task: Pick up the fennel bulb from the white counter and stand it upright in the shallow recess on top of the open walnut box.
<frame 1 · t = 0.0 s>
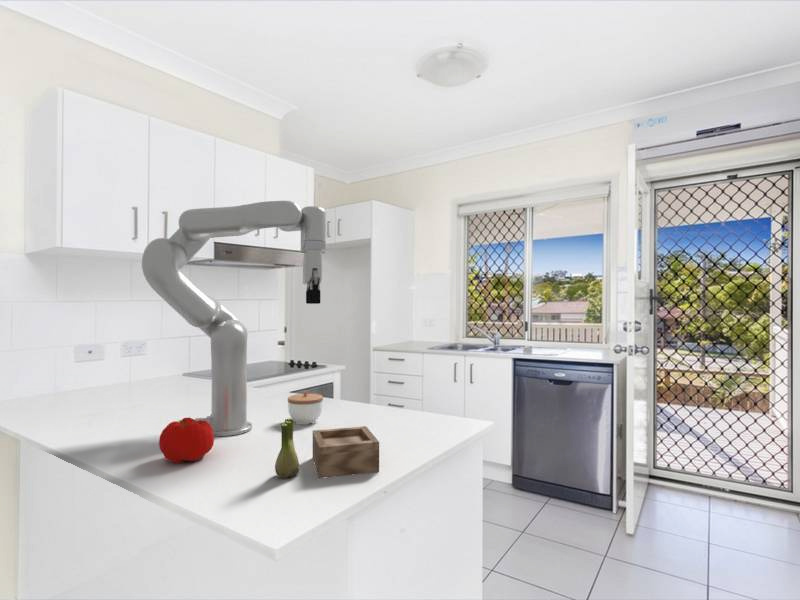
hand: (312, 303, 137), 37 cm above the counter, tool pointing down, fingers open, 9 cm apart
fennel bulb: (286, 476, 95), on the counter
lidded jar: (305, 422, 139), on the counter
open walnut box: (344, 464, 102), on the counter
tomato: (186, 459, 106), on the counter
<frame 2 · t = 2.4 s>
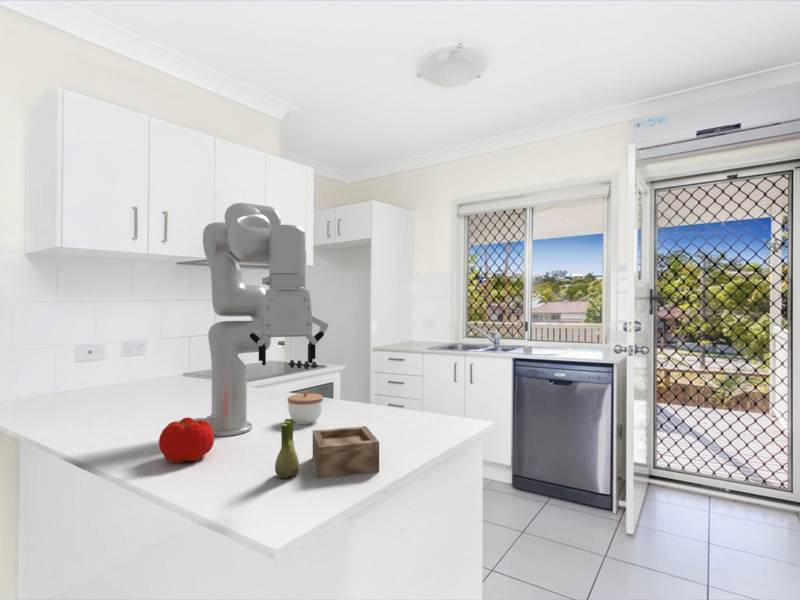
hand: (287, 363, 95), 24 cm above the counter, tool pointing down, fingers open, 9 cm apart
nothing on the counter moved.
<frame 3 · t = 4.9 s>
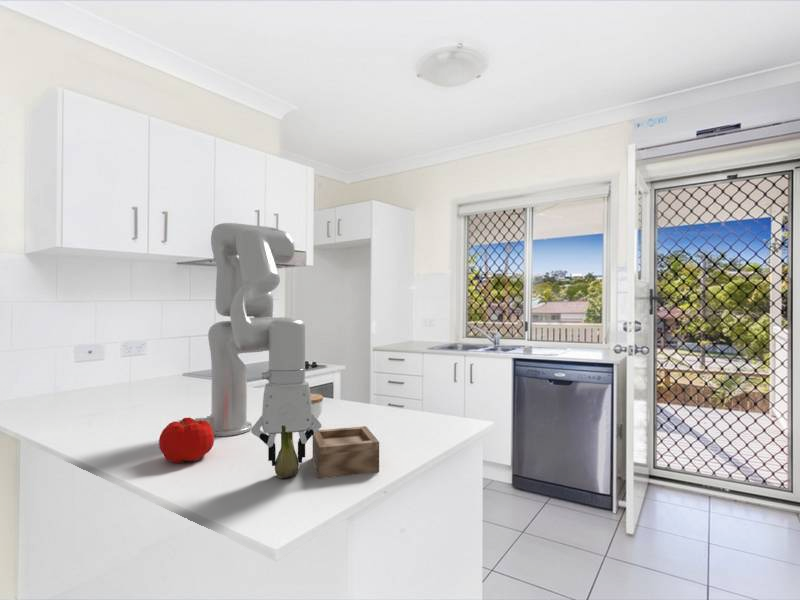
hand: (286, 461, 95), 3 cm above the counter, tool pointing down, fingers closed on fennel bulb, 4 cm apart
fennel bulb: (286, 476, 95), on the counter, touching gripper
everything else where it was.
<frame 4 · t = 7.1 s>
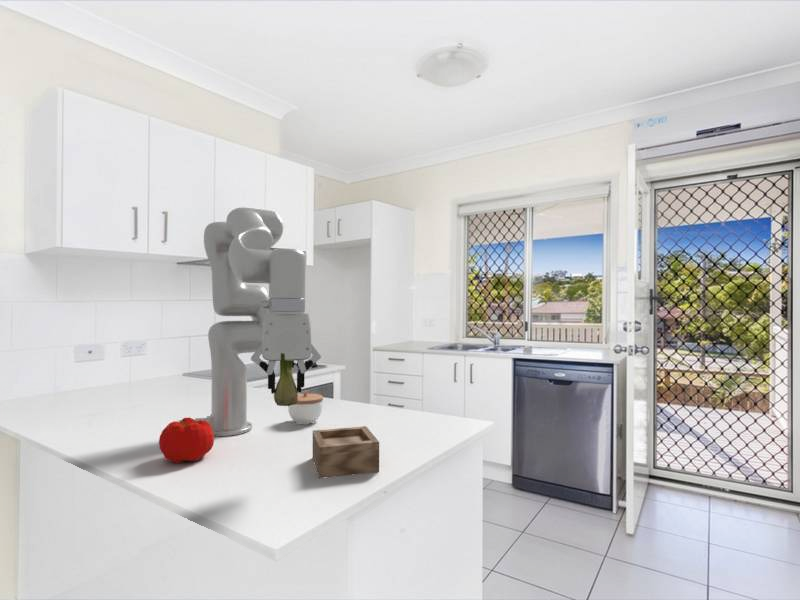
hand: (286, 390, 96), 18 cm above the counter, tool pointing down, fingers closed on fennel bulb, 4 cm apart
fennel bulb: (285, 406, 96), point 15 cm above the counter, touching gripper
everything else where it was.
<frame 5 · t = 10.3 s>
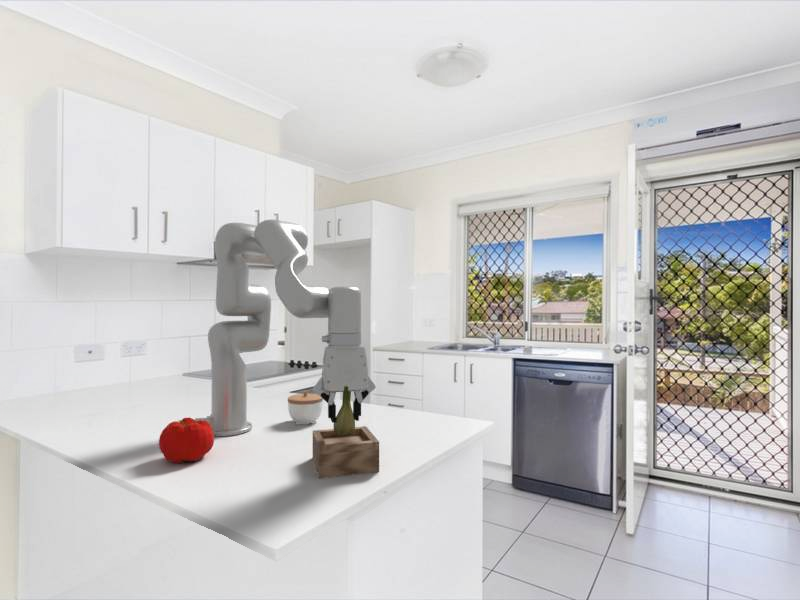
hand: (344, 419, 102), 10 cm above the counter, tool pointing down, fingers closed on fennel bulb, 4 cm apart
fennel bulb: (343, 435, 102), point 7 cm above the counter, touching gripper
everything else where it was.
when the fingers open (9 cm above the counter, at t = 10.9 s): fennel bulb stays where it is, resting on open walnut box.
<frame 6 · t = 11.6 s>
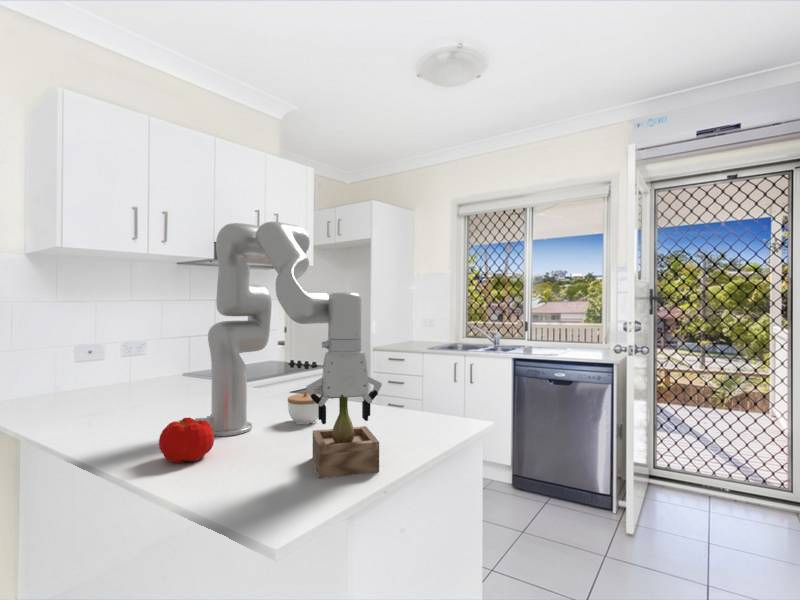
hand: (344, 421, 102), 10 cm above the counter, tool pointing down, fingers open, 9 cm apart
fennel bulb: (342, 443, 102), point 5 cm above the counter, touching open walnut box
everything else where it was.
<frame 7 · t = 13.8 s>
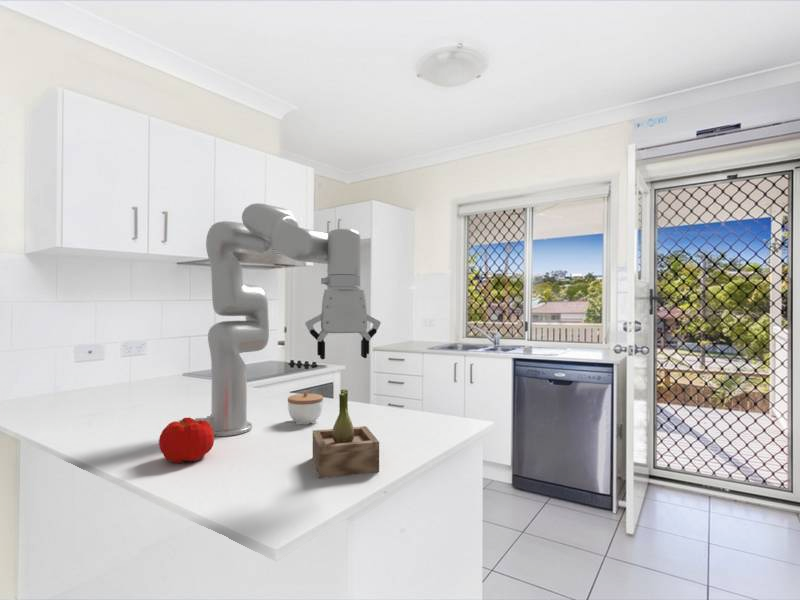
hand: (343, 358, 103), 24 cm above the counter, tool pointing down, fingers open, 9 cm apart
nothing on the counter moved.
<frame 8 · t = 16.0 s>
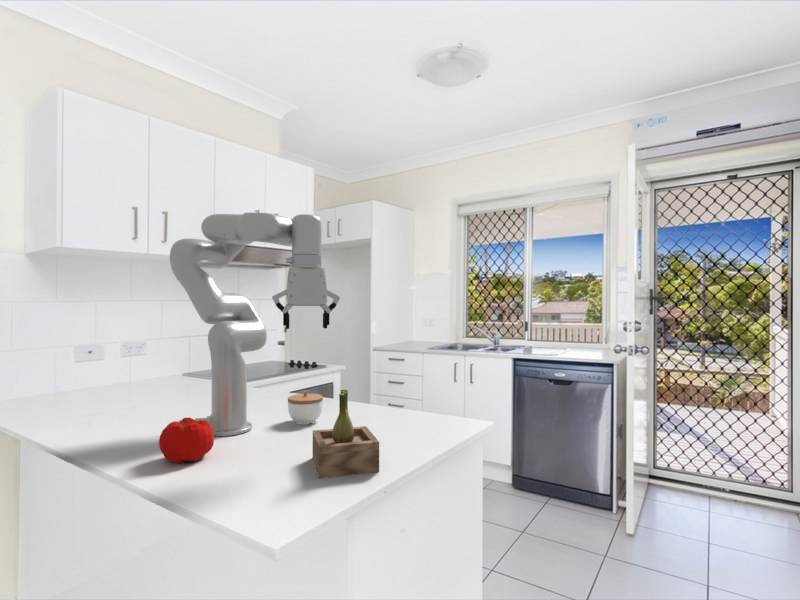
hand: (306, 328, 116), 30 cm above the counter, tool pointing down, fingers open, 9 cm apart
nothing on the counter moved.
at the end: fennel bulb inside the target area on the open walnut box (0.4 cm from its centre), point 4.8 cm above the open walnut box's base; fennel bulb tilted 0°; the gripper is holding nothing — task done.
